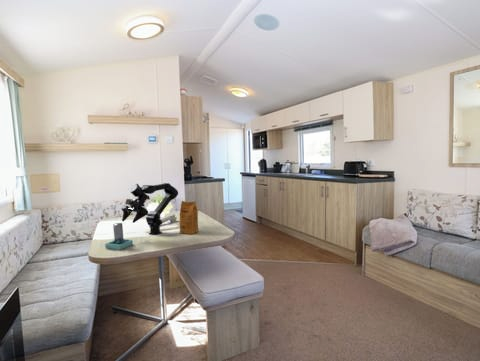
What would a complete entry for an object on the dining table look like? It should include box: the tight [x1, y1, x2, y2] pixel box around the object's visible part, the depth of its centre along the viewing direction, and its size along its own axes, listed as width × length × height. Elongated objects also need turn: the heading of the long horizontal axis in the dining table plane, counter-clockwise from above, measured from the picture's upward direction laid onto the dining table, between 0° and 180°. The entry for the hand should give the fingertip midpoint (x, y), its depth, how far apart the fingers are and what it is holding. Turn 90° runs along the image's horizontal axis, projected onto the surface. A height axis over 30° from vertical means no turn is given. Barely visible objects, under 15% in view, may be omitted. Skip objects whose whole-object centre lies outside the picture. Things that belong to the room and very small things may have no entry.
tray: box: [104, 238, 134, 251], centre depth 169 cm, size 11×11×3 cm
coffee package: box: [179, 200, 199, 235], centre depth 195 cm, size 10×12×22 cm
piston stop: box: [112, 222, 125, 245], centre depth 168 cm, size 5×5×13 cm
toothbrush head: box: [148, 213, 177, 228], centre depth 221 cm, size 5×7×25 cm
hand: (127, 221), depth 174 cm, fingers open, 9 cm apart
